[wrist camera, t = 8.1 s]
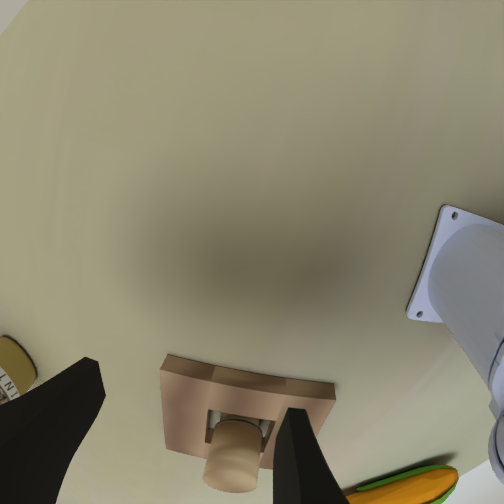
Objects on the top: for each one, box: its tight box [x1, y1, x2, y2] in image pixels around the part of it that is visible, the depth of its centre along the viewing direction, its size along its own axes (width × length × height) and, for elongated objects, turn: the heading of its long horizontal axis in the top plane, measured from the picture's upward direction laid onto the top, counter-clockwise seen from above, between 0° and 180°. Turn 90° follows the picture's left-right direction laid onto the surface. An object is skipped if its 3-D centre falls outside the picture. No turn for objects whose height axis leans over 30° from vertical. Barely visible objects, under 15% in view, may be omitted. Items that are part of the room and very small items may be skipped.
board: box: [160, 355, 336, 469], centre depth 23 cm, size 13×12×2 cm
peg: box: [203, 412, 262, 493], centre depth 20 cm, size 4×4×7 cm
